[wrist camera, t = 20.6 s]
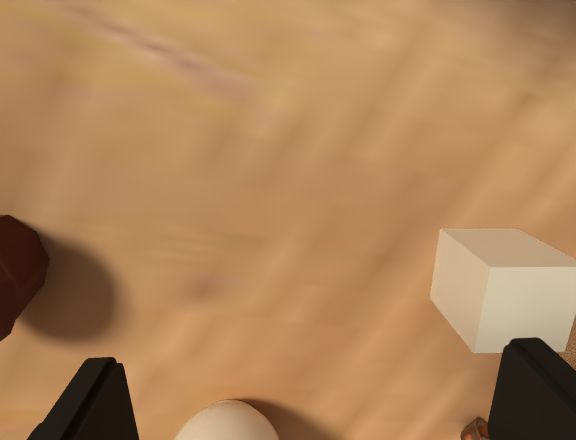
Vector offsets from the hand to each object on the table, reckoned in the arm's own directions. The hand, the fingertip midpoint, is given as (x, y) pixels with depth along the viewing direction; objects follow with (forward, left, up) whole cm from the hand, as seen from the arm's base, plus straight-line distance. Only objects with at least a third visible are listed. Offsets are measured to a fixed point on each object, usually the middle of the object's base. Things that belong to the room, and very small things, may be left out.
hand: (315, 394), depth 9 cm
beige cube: (+9, +19, -26) cm, 34 cm away
